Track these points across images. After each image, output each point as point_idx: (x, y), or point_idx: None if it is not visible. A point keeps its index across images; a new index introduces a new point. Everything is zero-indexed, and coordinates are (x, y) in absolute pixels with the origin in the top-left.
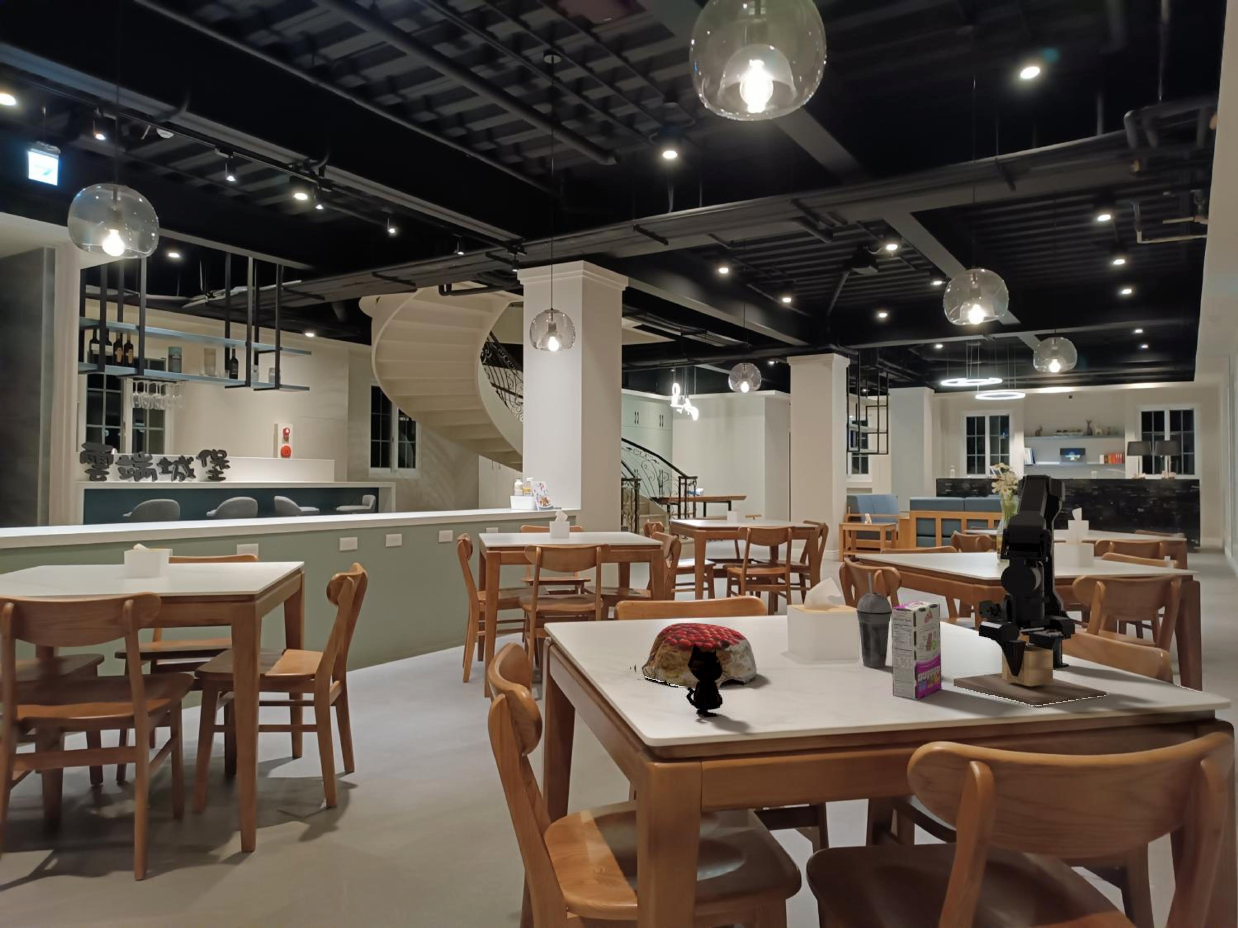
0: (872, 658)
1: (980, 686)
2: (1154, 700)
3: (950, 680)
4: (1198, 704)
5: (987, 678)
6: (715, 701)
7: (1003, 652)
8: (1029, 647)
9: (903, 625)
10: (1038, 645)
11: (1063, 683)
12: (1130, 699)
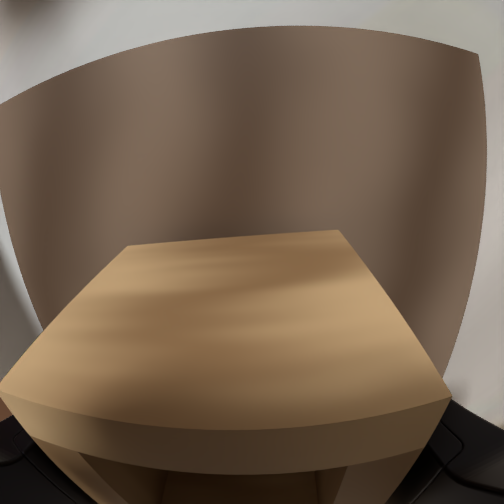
0: None
1: (19, 260)
2: (485, 409)
3: (72, 3)
4: (499, 426)
5: (126, 121)
6: None
7: (11, 417)
8: (340, 476)
9: None
10: (419, 491)
11: (428, 332)
12: (463, 404)
